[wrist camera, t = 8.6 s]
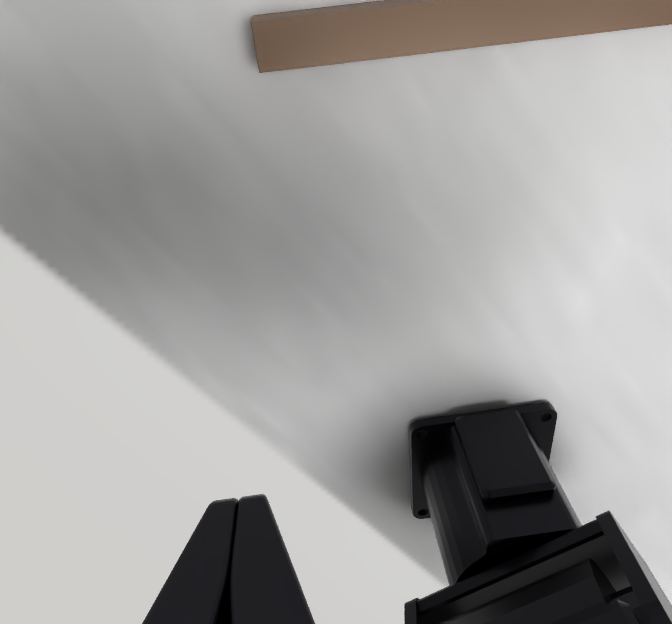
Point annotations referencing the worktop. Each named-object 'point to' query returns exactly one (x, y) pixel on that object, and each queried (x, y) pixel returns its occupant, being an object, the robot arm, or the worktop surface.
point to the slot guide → (435, 27)
